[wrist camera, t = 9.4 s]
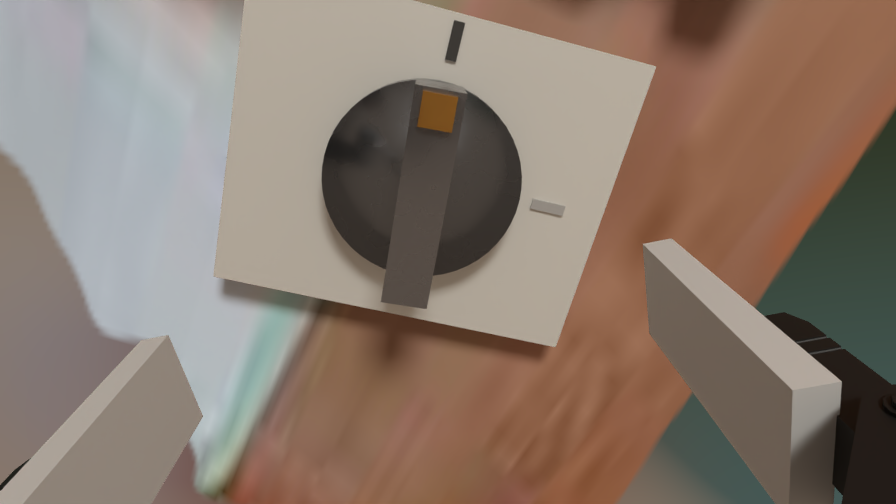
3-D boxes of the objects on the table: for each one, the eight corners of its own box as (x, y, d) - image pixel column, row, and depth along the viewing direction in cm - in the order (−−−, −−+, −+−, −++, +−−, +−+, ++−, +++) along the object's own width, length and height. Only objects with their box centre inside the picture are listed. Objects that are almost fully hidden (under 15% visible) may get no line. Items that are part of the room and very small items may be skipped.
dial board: (224, 264, 36) (212, 277, 34) (260, -40, 30) (248, -45, 28) (549, 332, 39) (556, 348, 37) (643, 64, 33) (657, 66, 31)
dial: (495, 279, 35) (507, 323, 30) (316, 250, 34) (295, 291, 29) (537, 98, 31) (560, 111, 26) (337, 60, 30) (317, 66, 25)
